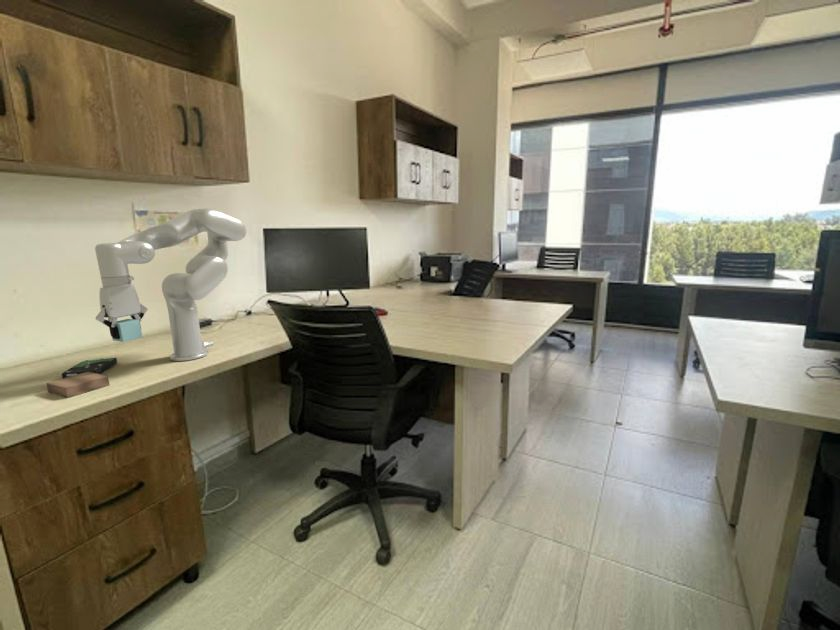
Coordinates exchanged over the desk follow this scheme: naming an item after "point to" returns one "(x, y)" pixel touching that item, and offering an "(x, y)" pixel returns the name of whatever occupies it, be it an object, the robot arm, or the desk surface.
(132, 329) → the teal cube
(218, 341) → the desk surface
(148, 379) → the desk surface
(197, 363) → the desk surface
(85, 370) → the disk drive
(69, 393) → the walnut base
